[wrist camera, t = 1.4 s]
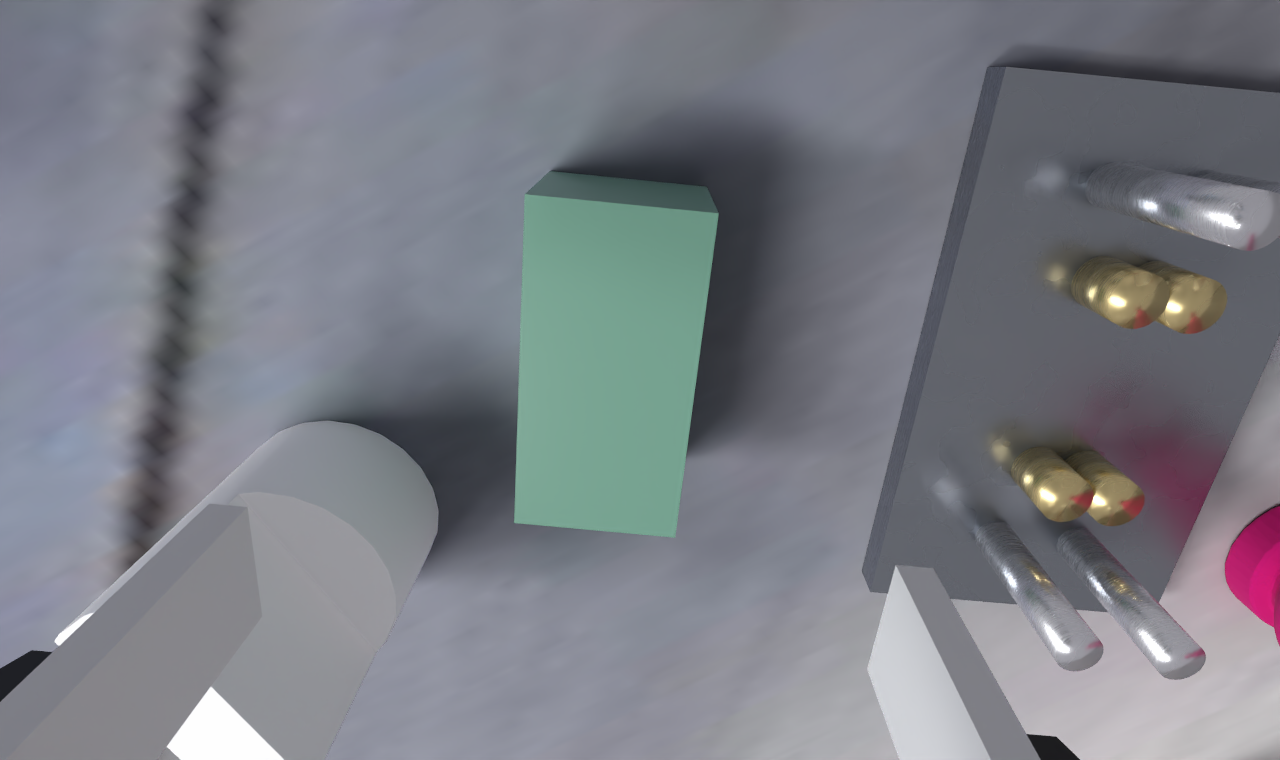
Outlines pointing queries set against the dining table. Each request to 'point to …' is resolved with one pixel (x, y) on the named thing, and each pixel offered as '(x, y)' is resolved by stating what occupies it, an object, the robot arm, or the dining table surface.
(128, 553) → the dining table surface
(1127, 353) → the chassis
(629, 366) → the mint green rectangular block
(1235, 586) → the pepper mill
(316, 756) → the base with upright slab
